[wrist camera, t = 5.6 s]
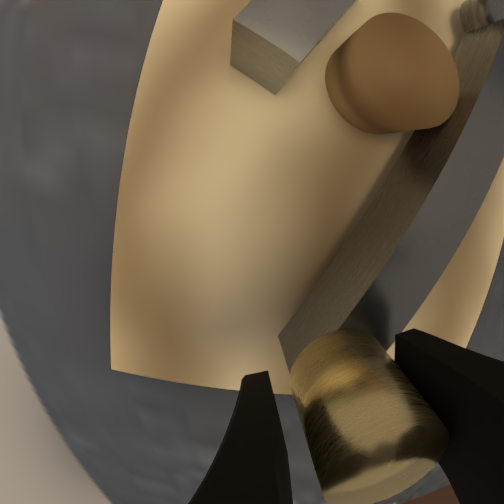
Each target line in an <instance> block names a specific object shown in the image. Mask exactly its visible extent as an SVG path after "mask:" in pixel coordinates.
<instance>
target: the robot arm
mask: <svg viewBox="0 0 504 504" xmlns="http://www.w3.org/2000/svg"><path fill="white" fill-rule="evenodd" d="M394 361H395V363H396V364H397V365H398V366H399V368H400V369H401V370H402V371H403V373H404V374H405V375H406V376H407V378H408V379H409V380H410V381H411V383H412V384H413V385H414V386H415V388H416V389H417V390H418V392H419V393H420V394H421V395H422V397H423V398H424V399H425V401H426V402H427V403H428V404H429V406H430V407H431V408H432V410H433V411H434V412H435V413H436V415H437V416H438V417H439V419H440V420H441V421H442V423H443V424H444V425H445V427H446V428H447V430H448V432H449V443H448V446H447V448H446V450H445V452H444V454H443V456H442V457H441V459H440V460H439V461H438V463H439V464H440V466H441V467H442V469H443V471H444V472H445V474H446V476H447V477H448V479H449V481H450V484H451V486H452V488H453V490H454V492H455V494H456V496H457V498H458V501H459V503H460V504H504V362H503V361H500V360H497V359H494V358H491V357H488V356H485V355H482V354H479V353H477V352H474V351H471V350H469V349H466V348H463V347H461V346H458V345H456V344H453V343H451V342H448V341H446V340H444V339H441V338H439V337H436V336H434V335H431V334H429V333H426V332H423V331H421V330H418V329H415V328H413V329H410V330H407V331H404V332H401V333H399V334H396V335H395V360H394ZM188 504H293V500H292V490H291V481H290V472H289V463H288V454H287V449H286V444H285V440H284V436H283V431H282V427H281V422H280V418H279V414H278V410H277V406H276V402H275V397H274V393H273V389H272V385H271V381H270V377H269V372H268V370H267V371H263V372H258V373H253V374H249V375H245V376H244V377H243V378H242V380H241V386H240V391H239V395H238V399H237V402H236V406H235V409H234V412H233V415H232V418H231V420H230V423H229V426H228V428H227V431H226V434H225V436H224V439H223V441H222V443H221V445H220V447H219V450H218V452H217V454H216V456H215V458H214V460H213V462H212V465H211V466H210V468H209V470H208V472H207V474H206V476H205V478H204V479H203V481H202V483H201V485H200V486H199V488H198V489H197V491H196V493H195V494H194V496H193V497H192V499H191V500H190V502H189V503H188Z"/></svg>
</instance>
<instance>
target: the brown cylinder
mask: <svg viewBox="0 0 504 504" xmlns="http://www.w3.org/2000/svg"><path fill="white" fill-rule="evenodd" d="M325 84H326V89H327V92H328V96H329V98H330V100H331V102H332V104H333V106H334V107H335V109H336V110H337V112H338V113H339V114H340V115H341V116H342V117H343V118H344V119H345V120H346V121H347V122H348V123H349V124H351V125H352V126H354V127H355V128H357V129H359V130H361V131H364V132H367V133H371V134H389V133H396V132H403V131H411V130H419V129H427V128H433V127H436V126H439V125H440V124H442V123H444V122H445V121H446V120H447V119H448V118H449V117H450V116H451V115H452V113H453V112H454V110H455V108H456V105H457V102H458V98H459V76H458V72H457V68H456V65H455V62H454V60H453V57H452V55H451V54H450V52H449V50H448V48H447V47H446V45H445V44H444V42H443V41H442V40H441V39H440V37H439V36H438V35H437V34H436V33H435V32H434V31H433V30H431V29H430V28H429V27H428V26H427V25H425V24H424V23H422V22H421V21H419V20H417V19H415V18H413V17H410V16H408V15H404V14H400V13H382V14H378V15H376V16H374V17H372V18H370V19H369V20H368V21H366V22H365V23H364V24H363V25H362V26H361V27H360V28H359V29H357V30H356V31H355V32H354V33H353V34H352V35H351V36H350V37H349V38H348V39H347V40H346V41H345V42H344V43H343V44H341V45H340V46H339V47H338V48H337V49H336V50H335V51H334V53H333V54H332V55H331V57H330V58H329V60H328V63H327V66H326V71H325Z"/></svg>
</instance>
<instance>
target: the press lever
mask: <svg viewBox="0 0 504 504" xmlns="http://www.w3.org/2000/svg"><path fill="white" fill-rule="evenodd" d="M460 21H461V24H462V27H463V30H464V32H465V35H464V37H463V39H462V41H461V43H460V46H459V48H458V50H457V52H456V54H455V56H454V58H453V60H454V62H455V65H456V68H457V72H458V76H459V98H458V102H457V105H456V108H455V110H454V112H453V113H452V115H451V116H450V117H449V118H448V119H447V120H446V121H445V122H444V123H442V124H440V125H439V126H436V127H433V128H427V129H419V130H414V132H413V134H412V136H411V137H410V139H409V141H408V142H407V144H406V146H405V148H404V149H403V151H402V153H401V154H400V156H399V158H398V159H397V161H396V163H395V164H394V166H393V168H392V169H391V171H390V173H389V174H388V176H387V177H386V179H385V181H384V182H383V184H382V186H381V187H380V189H379V190H378V192H377V194H376V195H375V197H374V198H373V200H372V201H371V203H370V205H369V206H368V208H367V209H366V211H365V212H364V214H363V215H362V217H361V218H360V220H359V222H358V223H357V225H356V226H355V228H354V229H353V231H352V232H351V234H350V235H349V237H348V238H347V240H346V241H345V243H344V244H343V246H342V247H341V249H340V250H339V251H338V253H337V254H336V256H335V257H334V259H333V260H332V262H331V263H330V265H329V266H328V267H327V269H326V270H325V272H324V273H323V275H322V276H321V277H320V279H319V280H318V282H317V283H316V285H315V286H314V287H313V289H312V290H311V292H310V293H309V294H308V296H307V297H306V298H305V300H304V301H303V303H302V304H301V305H300V307H299V308H298V309H297V311H296V312H295V314H294V315H293V316H292V318H291V319H290V320H289V322H288V323H287V324H286V326H285V327H284V328H283V330H282V331H281V332H280V334H279V335H278V338H279V341H280V344H281V348H282V351H283V354H284V357H285V361H286V364H287V367H288V370H289V373H290V387H291V390H292V393H293V397H294V400H295V403H296V407H297V410H298V414H299V417H300V420H301V424H302V427H303V430H304V434H305V437H306V440H307V444H308V447H309V451H310V454H311V457H312V461H313V464H314V467H315V471H316V474H317V477H318V481H319V484H320V488H321V491H322V494H323V497H324V499H325V500H326V501H327V502H328V503H330V504H372V503H376V502H379V501H382V500H385V499H387V498H389V497H392V496H394V495H396V494H398V493H400V492H402V491H403V490H405V489H407V488H408V487H410V486H412V485H413V484H414V483H416V482H417V481H419V480H420V479H421V478H422V477H424V476H425V475H426V474H427V473H428V472H429V471H430V470H431V469H432V468H433V467H434V466H435V465H436V464H437V462H438V461H439V460H440V459H441V457H442V456H443V454H444V452H445V450H446V448H447V446H448V443H449V432H448V430H447V428H446V427H445V425H444V424H443V423H442V421H441V420H440V419H439V417H438V416H437V415H436V413H435V412H434V411H433V410H432V408H431V407H430V406H429V404H428V403H427V402H426V401H425V399H424V398H423V397H422V395H421V394H420V393H419V392H418V390H417V389H416V388H415V386H414V385H413V384H412V383H411V381H410V380H409V379H408V378H407V376H406V375H405V374H404V373H403V371H402V370H401V369H400V368H399V366H398V365H397V364H396V363H395V361H394V360H393V359H392V358H391V356H390V355H389V354H388V353H387V350H388V349H389V348H390V347H391V345H392V344H393V343H394V341H395V335H396V334H399V333H401V332H402V331H403V330H404V328H405V327H406V326H407V324H408V323H409V322H410V320H411V319H412V318H413V316H414V315H415V313H416V312H417V311H418V309H419V308H420V306H421V305H422V303H423V302H424V301H425V299H426V298H427V296H428V295H429V293H430V292H431V290H432V289H433V287H434V286H435V284H436V283H437V281H438V280H439V278H440V277H441V275H442V273H443V272H444V270H445V269H446V267H447V265H448V264H449V262H450V261H451V259H452V257H453V256H454V254H455V252H456V251H457V249H458V247H459V245H460V244H461V242H462V240H463V239H464V237H465V235H466V233H467V231H468V230H469V228H470V226H471V224H472V222H473V220H474V219H475V217H476V215H477V213H478V211H479V209H480V207H481V205H482V203H483V201H484V199H485V197H486V195H487V193H488V191H489V189H490V187H491V185H492V182H493V180H494V178H495V176H496V174H497V171H498V169H499V167H500V165H501V162H502V160H503V158H504V0H466V1H465V2H463V3H462V5H461V7H460Z"/></svg>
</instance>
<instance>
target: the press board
mask: <svg viewBox="0 0 504 504" xmlns="http://www.w3.org/2000/svg"><path fill="white" fill-rule="evenodd" d="M250 1H251V0H163V3H162V6H161V8H160V11H159V14H158V17H157V21H156V24H155V27H154V30H153V33H152V37H151V40H150V43H149V47H148V50H147V54H146V57H145V61H144V65H143V69H142V73H141V76H140V80H139V85H138V89H137V93H136V97H135V102H134V106H133V111H132V116H131V121H130V126H129V131H128V136H127V142H126V148H125V153H124V160H123V166H122V173H121V180H120V187H119V195H118V203H117V212H116V221H115V232H114V244H113V258H112V276H111V309H110V339H111V369H113V370H117V371H122V372H126V373H131V374H136V375H141V376H146V377H151V378H156V379H162V380H167V381H173V382H179V383H185V384H192V385H199V386H206V387H213V388H221V389H230V390H239V391H240V386H241V380H242V378H243V377H244V376H245V375H249V374H253V373H258V372H263V371H267V370H268V372H269V377H270V381H271V385H272V389H273V393H274V394H290V395H293V393H292V390H291V387H290V373H289V370H288V367H287V364H286V361H285V357H284V354H283V351H282V348H281V344H280V341H279V338H278V335H279V334H280V332H281V331H282V330H283V328H284V327H285V326H286V324H287V323H288V322H289V320H290V319H291V318H292V316H293V315H294V314H295V312H296V311H297V309H298V308H299V307H300V305H301V304H302V303H303V301H304V300H305V298H306V297H307V296H308V294H309V293H310V292H311V290H312V289H313V287H314V286H315V285H316V283H317V282H318V280H319V279H320V277H321V276H322V275H323V273H324V272H325V270H326V269H327V267H328V266H329V265H330V263H331V262H332V260H333V259H334V257H335V256H336V254H337V253H338V251H339V250H340V249H341V247H342V246H343V244H344V243H345V241H346V240H347V238H348V237H349V235H350V234H351V232H352V231H353V229H354V228H355V226H356V225H357V223H358V222H359V220H360V218H361V217H362V215H363V214H364V212H365V211H366V209H367V208H368V206H369V205H370V203H371V201H372V200H373V198H374V197H375V195H376V194H377V192H378V190H379V189H380V187H381V186H382V184H383V182H384V181H385V179H386V177H387V176H388V174H389V173H390V171H391V169H392V168H393V166H394V164H395V163H396V161H397V159H398V158H399V156H400V154H401V153H402V151H403V149H404V148H405V146H406V144H407V142H408V141H409V139H410V137H411V136H412V134H413V132H414V130H411V131H403V132H396V133H389V134H371V133H367V132H364V131H361V130H359V129H357V128H355V127H354V126H352V125H351V124H349V123H348V122H347V121H346V120H345V119H344V118H343V117H342V116H341V115H340V114H339V113H338V112H337V110H336V109H335V107H334V106H333V104H332V102H331V100H330V98H329V96H328V92H327V89H326V84H325V71H326V66H327V63H328V60H329V58H330V57H331V55H332V54H333V53H334V51H335V50H336V49H337V48H338V47H339V46H340V45H341V44H343V43H344V42H345V41H346V40H347V39H348V38H349V37H350V36H351V35H352V34H353V33H354V32H355V31H356V30H357V29H359V28H360V27H361V26H362V25H363V24H364V23H365V22H366V21H368V20H369V19H370V18H372V17H374V16H376V15H378V14H382V13H400V14H404V15H408V16H410V17H413V18H415V19H417V20H419V21H421V22H422V23H424V24H425V25H427V26H428V27H429V28H430V29H431V30H433V31H434V32H435V33H436V34H437V35H438V36H439V37H440V39H441V40H442V41H443V42H444V44H445V45H446V47H447V48H448V50H449V52H450V54H451V55H452V57H453V58H454V56H455V54H456V52H457V50H458V48H459V46H460V43H461V41H462V39H463V37H464V35H465V32H464V30H463V27H462V24H461V21H460V7H461V5H462V3H463V2H465V1H466V0H357V1H356V2H355V3H354V5H353V6H352V7H351V8H350V9H349V10H348V11H347V12H346V13H345V14H344V15H343V17H342V18H341V19H340V20H339V21H338V22H337V23H336V24H335V25H334V27H333V28H332V29H331V30H330V31H329V32H328V33H327V34H326V36H325V37H324V38H323V39H322V40H321V41H320V42H319V44H318V45H317V46H316V47H315V48H314V49H313V51H312V52H311V53H310V54H309V55H308V56H307V58H306V59H305V60H304V61H303V62H302V64H301V65H300V66H299V67H298V68H297V70H296V71H295V72H294V73H293V75H292V76H291V77H290V78H289V79H288V81H287V82H286V83H285V84H284V86H283V87H282V88H281V89H280V91H279V92H278V93H277V94H276V96H275V95H274V94H272V93H271V92H269V91H268V90H266V89H265V88H264V87H262V86H261V85H259V84H258V83H256V82H255V81H253V80H252V79H250V78H249V77H247V76H246V75H244V74H243V73H241V72H240V71H238V70H237V69H235V68H233V67H232V66H230V55H231V38H232V22H233V18H234V17H235V16H236V15H237V14H238V13H239V12H240V11H241V10H242V9H243V8H244V7H245V6H246V5H247V4H248V3H249V2H250ZM503 238H504V158H503V160H502V162H501V165H500V167H499V169H498V171H497V174H496V176H495V178H494V180H493V182H492V185H491V187H490V189H489V191H488V193H487V195H486V197H485V199H484V201H483V203H482V205H481V207H480V209H479V211H478V213H477V215H476V217H475V219H474V220H473V222H472V224H471V226H470V228H469V230H468V231H467V233H466V235H465V237H464V239H463V240H462V242H461V244H460V245H459V247H458V249H457V251H456V252H455V254H454V256H453V257H452V259H451V261H450V262H449V264H448V265H447V267H446V269H445V270H444V272H443V273H442V275H441V277H440V278H439V280H438V281H437V283H436V284H435V286H434V287H433V289H432V290H431V292H430V293H429V295H428V296H427V298H426V299H425V301H424V302H423V303H422V305H421V306H420V308H419V309H418V311H417V312H416V313H415V315H414V316H413V318H412V319H411V320H410V322H409V323H408V324H407V326H406V327H405V328H404V330H403V331H402V332H404V331H407V330H410V329H413V328H415V329H418V330H421V331H423V332H426V333H429V334H431V335H434V336H436V337H439V338H441V339H444V340H446V341H448V342H451V343H453V344H456V345H458V346H461V347H463V348H466V346H467V344H468V342H469V339H470V337H471V335H472V332H473V330H474V327H475V325H476V322H477V320H478V317H479V315H480V312H481V309H482V307H483V304H484V301H485V298H486V296H487V293H488V290H489V287H490V284H491V281H492V277H493V274H494V271H495V268H496V264H497V261H498V257H499V254H500V250H501V246H502V242H503ZM387 353H388V354H389V355H390V356H391V358H392V359H393V360H395V341H394V343H393V344H392V345H391V347H390V348H389V349H388V350H387Z"/></svg>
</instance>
